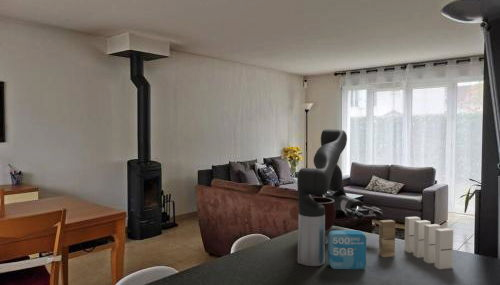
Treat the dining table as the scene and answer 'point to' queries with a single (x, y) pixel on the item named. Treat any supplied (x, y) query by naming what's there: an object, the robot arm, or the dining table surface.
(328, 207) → the mate gourd
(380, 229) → the tile
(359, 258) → the data package
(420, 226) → the tile
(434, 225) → the white domino block
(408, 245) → the tile
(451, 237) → the end tile
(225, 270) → the dining table surface
